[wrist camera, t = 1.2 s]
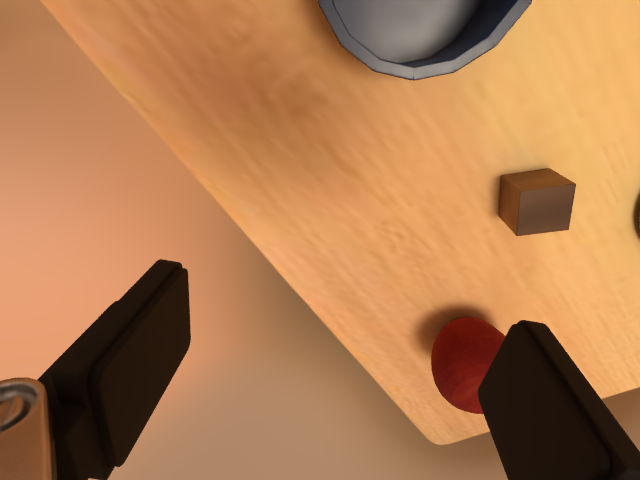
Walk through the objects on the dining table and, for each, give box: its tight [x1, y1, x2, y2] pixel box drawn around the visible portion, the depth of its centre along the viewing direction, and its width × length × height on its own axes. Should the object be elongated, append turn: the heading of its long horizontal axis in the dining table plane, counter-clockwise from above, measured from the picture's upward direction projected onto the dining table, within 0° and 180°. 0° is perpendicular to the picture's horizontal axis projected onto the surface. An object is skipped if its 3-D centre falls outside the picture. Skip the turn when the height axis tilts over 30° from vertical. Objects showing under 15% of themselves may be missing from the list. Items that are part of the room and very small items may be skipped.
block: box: [499, 169, 576, 236], centre depth 33 cm, size 4×4×4 cm
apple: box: [431, 317, 505, 414], centre depth 40 cm, size 10×10×10 cm
